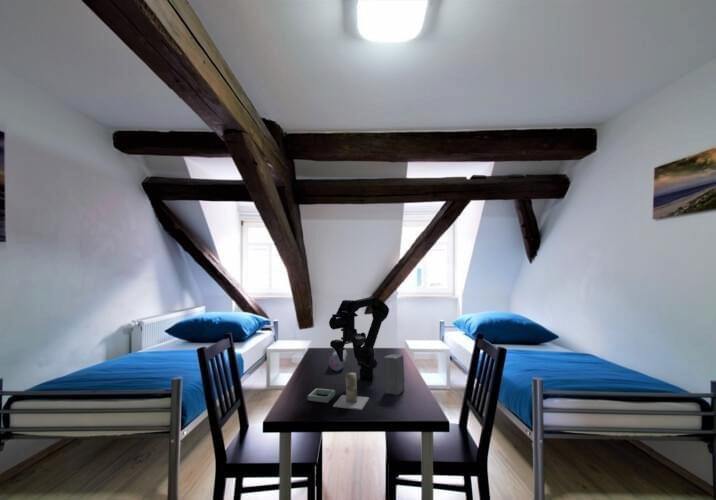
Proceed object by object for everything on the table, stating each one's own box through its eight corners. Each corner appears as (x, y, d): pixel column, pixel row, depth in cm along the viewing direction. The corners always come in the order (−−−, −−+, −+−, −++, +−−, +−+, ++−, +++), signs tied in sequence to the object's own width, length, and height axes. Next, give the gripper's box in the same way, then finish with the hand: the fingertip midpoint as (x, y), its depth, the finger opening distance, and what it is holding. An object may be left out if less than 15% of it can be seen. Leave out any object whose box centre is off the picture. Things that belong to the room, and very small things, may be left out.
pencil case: (332, 361, 201) (332, 345, 202) (347, 361, 201) (347, 345, 202) (328, 372, 180) (328, 354, 181) (344, 372, 180) (344, 354, 181)
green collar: (335, 394, 147) (335, 390, 147) (327, 402, 138) (327, 397, 139) (316, 392, 150) (316, 388, 150) (307, 400, 141) (307, 395, 141)
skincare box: (397, 396, 145) (397, 358, 146) (382, 393, 149) (382, 356, 150) (405, 390, 152) (405, 354, 153) (391, 387, 156) (390, 352, 157)
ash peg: (355, 398, 141) (355, 371, 142) (358, 402, 137) (357, 375, 137) (345, 399, 140) (344, 373, 141) (347, 403, 136) (346, 376, 136)
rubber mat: (369, 398, 142) (369, 397, 142) (361, 410, 131) (361, 408, 131) (342, 395, 146) (342, 394, 146) (332, 406, 134) (332, 405, 134)
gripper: (345, 331, 148) (345, 367, 147) (374, 326, 161) (374, 359, 160) (329, 328, 156) (329, 362, 155) (358, 323, 169) (358, 355, 168)
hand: (348, 359), depth 159 cm, fingers open, 9 cm apart
